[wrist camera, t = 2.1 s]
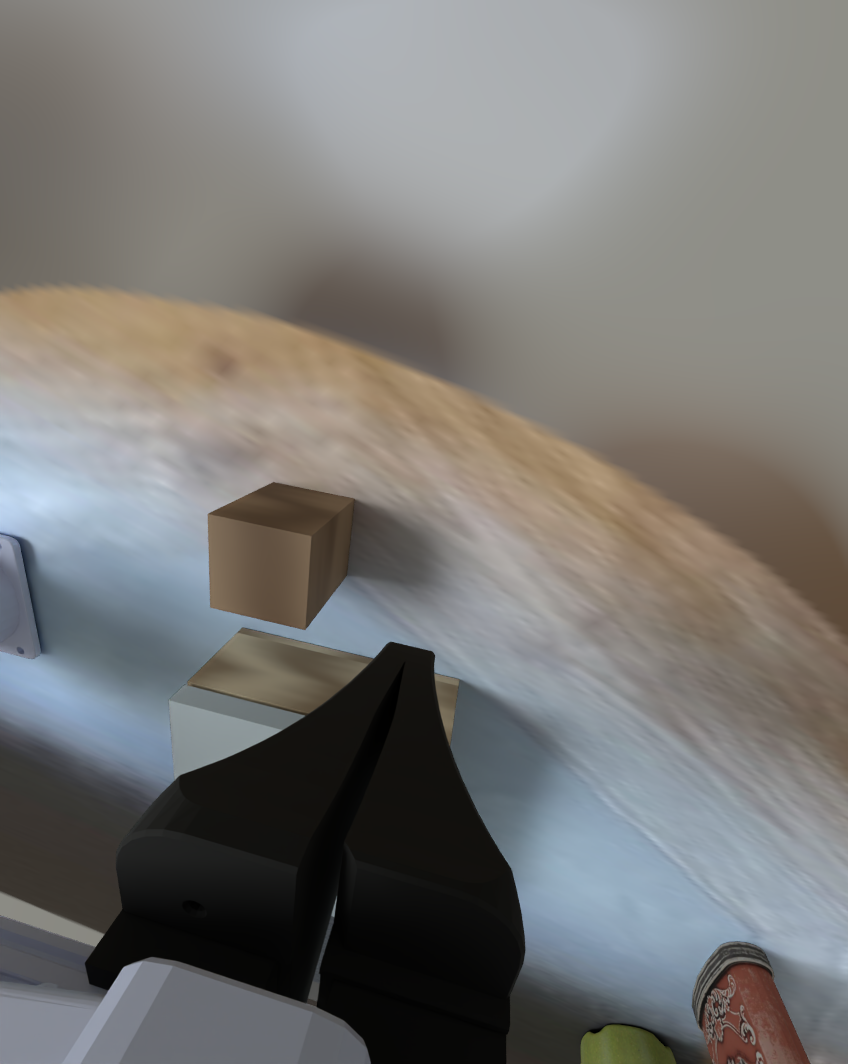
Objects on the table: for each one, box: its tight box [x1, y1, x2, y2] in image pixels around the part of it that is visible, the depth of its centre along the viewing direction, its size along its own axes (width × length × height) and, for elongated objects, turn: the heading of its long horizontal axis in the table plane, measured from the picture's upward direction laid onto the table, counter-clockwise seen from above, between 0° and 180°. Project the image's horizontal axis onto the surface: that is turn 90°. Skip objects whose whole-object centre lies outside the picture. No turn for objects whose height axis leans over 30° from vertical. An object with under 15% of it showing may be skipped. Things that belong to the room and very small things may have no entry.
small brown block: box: [208, 482, 355, 630], centre depth 19 cm, size 4×4×5 cm
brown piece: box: [187, 628, 459, 745], centre depth 24 cm, size 12×14×4 cm
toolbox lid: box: [169, 685, 337, 1001], centre depth 20 cm, size 12×14×4 cm
